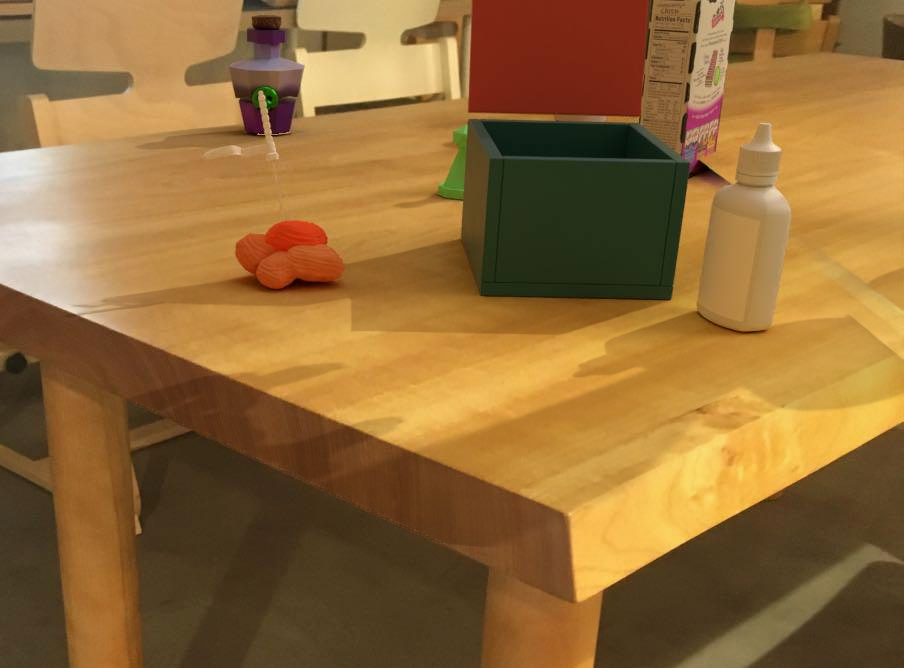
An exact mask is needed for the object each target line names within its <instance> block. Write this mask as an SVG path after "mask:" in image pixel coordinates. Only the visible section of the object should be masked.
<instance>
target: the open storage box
mask: <svg viewBox="0 0 904 668" xmlns="http://www.w3.org/2000/svg"><path fill="white" fill-rule="evenodd" d="M467 126H468V128H467V144H466V161H465V178H464V194H463V200H462V212H461V213H462V214H461V229H460V240H461V242H462V246H463V248H464V252H465V253H466V257H467V260H468V263H469V267H470V268H471V272H472V275H473V278H474V281H475V283H476V286H477V289H478V293H479V296H482V297H483V296H487V297H489V296H490V297H529V298H530V297H531V298H533V297H537V298H577V299H578V298H582V299H626V300H627V299H629V300H631V299H634V300H635V299H636V300H672V298H673V293H674V285H675V284H674V283H675V276H676V270H677V262H678V255H679V249H680V242H681V241H680V240H681V235H682V229H683V228H682V227H683V221H684V220H683V219H684V213H685V205H686V199H687V191H688V184H689V179H690V177H689V171H690V164H691V163H690V162H689V161H687V160H686V159H685V158H684V157H682V156H681V155H680V154H678V153H677V152H676V151H674V150H673V149H672V148H670V147H669V146H668V145H667V144H665V143H664V142H663V141H661V140H660V139H659V138H657V137H656V136H655V135H654V134H652V133H651V132H650V131H648V130H647V129H646V128H644V127H643V126H642V125H640V124H639V122H626V121H625V122H624V121H623V122H620V121H617V122H616V121H605V122H584V121H556V120H536V119H535V120H534V119H533V120H532V119H498V118H497V119H495V118H468V119H467Z"/></svg>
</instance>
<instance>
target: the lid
mask: <svg viewBox="0 0 904 668" xmlns="http://www.w3.org/2000/svg"><path fill="white" fill-rule="evenodd" d="M648 8H649V0H471V12H470V13H471V15H470V39H469V40H470V44H469V70H468V73H469V74H468V97H467V99H468V100H467V114H494V115H495V114H498V115H499V114H503V115H539V116H544V115H545V116H554V115H578V116H606V117H620V118H621V117H622V118H623V117H624V118H626V117H628V118H639V116H641V104H642V89H643V79H644V68H645V58H646V43H647V41H646V39H647V25H648Z"/></svg>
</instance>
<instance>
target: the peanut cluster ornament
mask: <svg viewBox="0 0 904 668" xmlns="http://www.w3.org/2000/svg"><path fill="white" fill-rule="evenodd" d="M258 94H259V97H258V100H259V102H260V103H259V106H260V108H261V110H260V111H261V115H262V121H263V128H264V130H265V131H264V133H265V136H264V137H265V143H263V144H258V145H254V146H249V147H240V146H238V145H233V144H232V145H225V146H221V147H218V148H214V149H210V150H208V151H206V152H204V153H203V158H204V160H207V161H210V160H214V159H220V158H224V157H230V156H234V155H237V156H240V157H242V158H251V157H256V156H261V155H265V154H266V155H265V160H266V162H268V163H271V165H272V166H271V167H272V170H273V176H274V182H275V188H276V191H277V197H278V202H279V203H278V204H279V207H280V209H279V210H280V213H281V219H282V221H279V222H277V223H275V224H273V225H272V226H271V227H269V228H268V230H267V231H266V232H265V234H264V233H251V232H250V233H248V234H246V235H245V236H243V237H241V238H240V239H239V240H238V241H236V243H235V250H234V255H235V257H236V259H237V261H238V263H239V265H240V266H241V267H242V268H243V269H244V270H245V271H246V272H248V273H250V274H252V275H255V276H256V278H257V280H258V283H260V284H261V285H262V286H264V287H267V288H269V289H273V290H280V289H284V288H285V287H286V286H289V285H291V284H292V283H293V282H294V281H295V280H296V279H300V280H301V281H305V282H316V283H317V282H320V283H330V282H334V281H335V282H336V281H337V280H339V279H340V278H341V277H342V273H343V272H344V271H345V267H346V266H345V263H344V260H343V258H342V257H340V254H339V253H338V252H337V250H335V249H334V248H333V247H332V246H329V245H328V241H329V237H328V235H327V234H326V231H325V230H324V229H323V228H322V227H321V226H320V225H318V224H315V223H314V222H309V221H305V220H297V219H295V220H294V219H291V220H286V217H285V211H284V206H283V200H282V195H281V189H280V184H279V179H278V173H277V167H276V162H277V161H279V160H280V155H279V152H277V148H276V143H275V141H274V138H273V136H271V134H272V132H271V129H270V127H271V126H270V123H269V116H268V110H267V108H266V107H267V104H266V102H265V96H264V94H263V91H259V92H258Z"/></svg>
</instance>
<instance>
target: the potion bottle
mask: <svg viewBox="0 0 904 668" xmlns="http://www.w3.org/2000/svg"><path fill="white" fill-rule="evenodd" d="M246 42H247V43H252V44H253V56H251V57H248V58H244V59H242V60H238V61H235V62H232V63H231V64H229V66H228V70H229V75H230V80H231V83H232V88H233V89H232V90H233V93H234V97H235V99H238V104H239V109H240V113H241V118H242V122H243V128H244V131H243V134H246V135H250V136H251V135H252V136H255V135H257V134H258V133H259V134H265V133H264V131H265V130H264V128H263V121H262V115H261V111H260V110H261V108H260V106H259V103H260V102H259V100H258V97H259V94H258V92H259V91H263V94H264V96H265V102H266V104H267V107H266V108H267V110H268V116H269V123H270V126H271V127H270V129H271V132H272V134H279V133H286V132H289V131H291V128H292V123H293V118H294V113H295V108H296V104H297V98H298V97H299V95H300V91H301V88H302V87H301V86H302V82H303V78H304V77H303V75H304V71H305V64H302V63H299V62H296V61H294V60H291V59H288V58H284V57H282V56H281V44H285V43H286V42H287V28H284V27H282V16H280V15H276V14H275V15H274V14H257V15H253V16H251V26H249V27H247V28H246Z"/></svg>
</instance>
